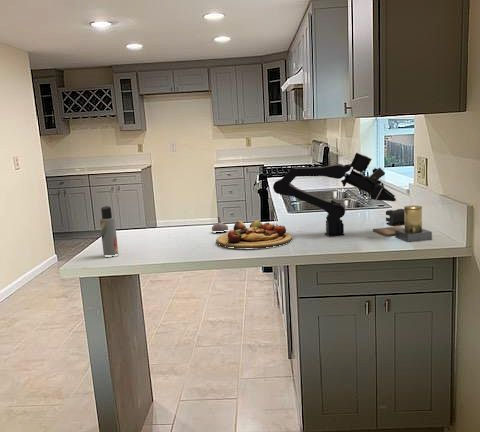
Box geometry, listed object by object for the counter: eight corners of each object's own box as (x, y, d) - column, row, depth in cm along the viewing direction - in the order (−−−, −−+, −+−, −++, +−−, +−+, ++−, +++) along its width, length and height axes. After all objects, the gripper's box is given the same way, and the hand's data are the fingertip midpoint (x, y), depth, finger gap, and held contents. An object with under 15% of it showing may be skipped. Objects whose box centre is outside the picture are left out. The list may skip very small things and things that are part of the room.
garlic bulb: (210, 234, 227) (209, 217, 226) (214, 231, 234) (213, 214, 233) (226, 234, 225) (224, 217, 224) (230, 230, 232) (229, 214, 231)
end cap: (394, 226, 218) (394, 211, 217) (385, 224, 225) (384, 209, 224) (413, 224, 221) (413, 209, 220) (403, 221, 228) (403, 207, 226)
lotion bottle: (119, 253, 200) (114, 205, 197) (116, 257, 195) (111, 207, 191) (105, 254, 200) (100, 206, 197) (102, 258, 195) (96, 208, 191)
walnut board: (386, 236, 199) (385, 234, 199) (372, 231, 211) (372, 228, 211) (413, 233, 202) (413, 231, 201) (398, 228, 213) (398, 226, 213)
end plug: (409, 240, 190) (409, 208, 188) (401, 237, 197) (401, 206, 195) (425, 239, 191) (425, 207, 189) (416, 235, 198) (416, 205, 196)
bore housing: (408, 242, 188) (407, 234, 188) (395, 236, 198) (395, 229, 198) (431, 239, 190) (431, 231, 190) (418, 234, 200) (418, 227, 199)
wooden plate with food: (243, 255, 186) (242, 234, 184) (202, 241, 212) (201, 223, 211) (308, 242, 203) (307, 222, 202) (262, 231, 229) (262, 213, 228)
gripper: (369, 165, 192) (406, 183, 189) (369, 162, 209) (403, 178, 207) (356, 191, 195) (392, 208, 192) (356, 185, 212) (390, 201, 210)
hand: (394, 198), depth 200 cm, fingers open, 9 cm apart
